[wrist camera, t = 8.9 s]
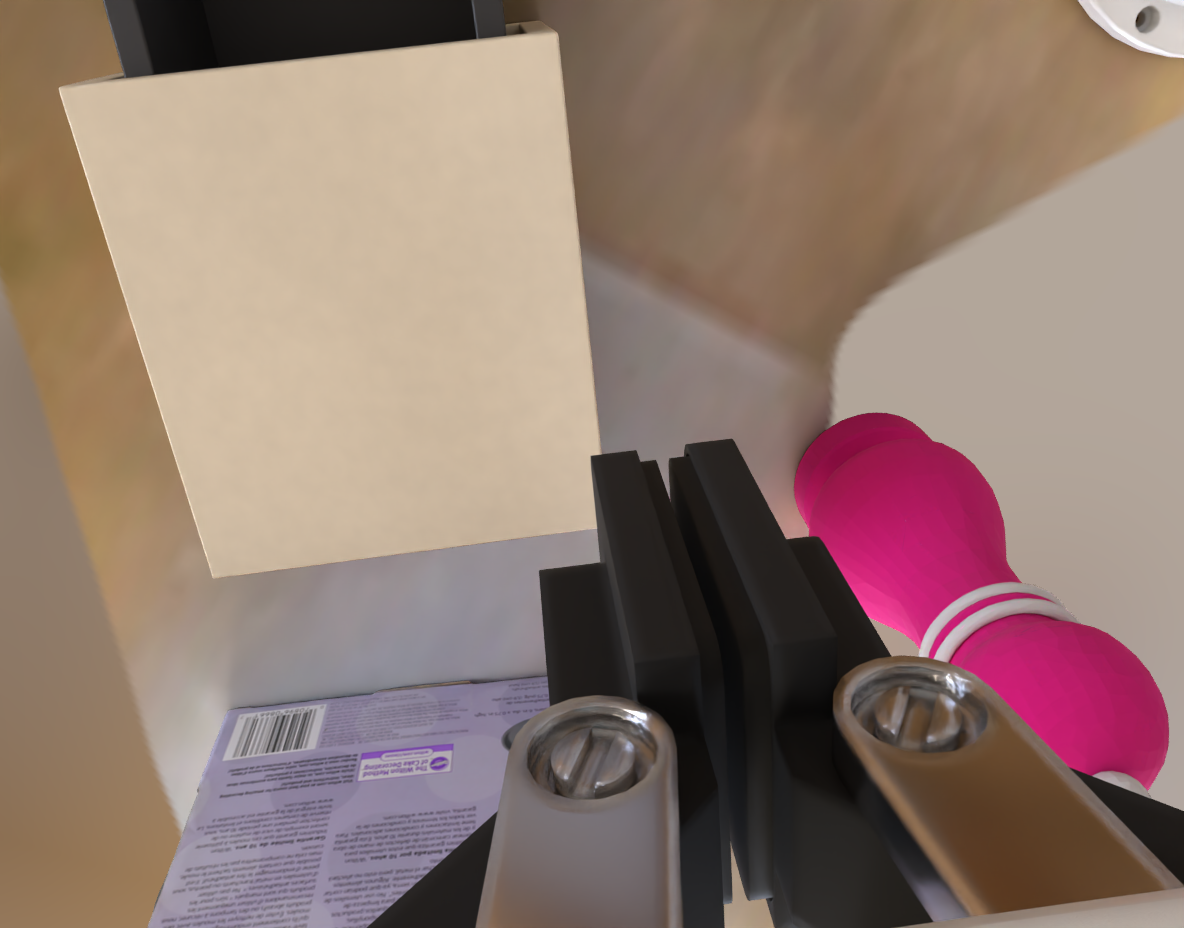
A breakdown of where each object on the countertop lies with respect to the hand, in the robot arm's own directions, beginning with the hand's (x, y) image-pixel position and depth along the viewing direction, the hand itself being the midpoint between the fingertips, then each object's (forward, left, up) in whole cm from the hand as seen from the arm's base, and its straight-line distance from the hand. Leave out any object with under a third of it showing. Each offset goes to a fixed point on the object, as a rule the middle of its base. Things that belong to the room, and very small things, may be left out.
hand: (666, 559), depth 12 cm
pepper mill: (-12, +14, -27) cm, 33 cm away
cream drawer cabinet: (+6, +2, -27) cm, 28 cm away
